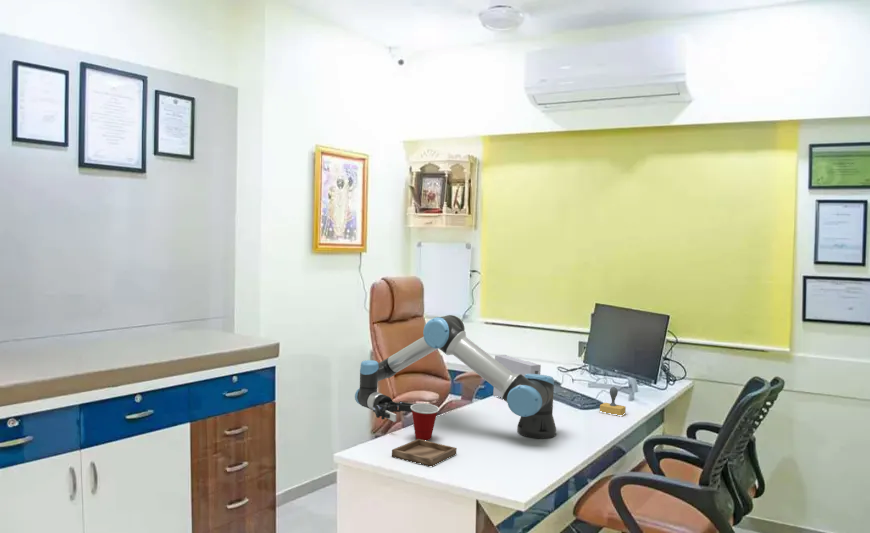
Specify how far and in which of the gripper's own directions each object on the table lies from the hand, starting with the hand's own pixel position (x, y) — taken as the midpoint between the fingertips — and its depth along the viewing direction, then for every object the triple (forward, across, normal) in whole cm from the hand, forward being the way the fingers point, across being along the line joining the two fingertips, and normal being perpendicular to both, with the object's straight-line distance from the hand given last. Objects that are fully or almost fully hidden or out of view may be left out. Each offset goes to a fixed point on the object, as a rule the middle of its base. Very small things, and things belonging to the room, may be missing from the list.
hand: (410, 415), depth 253 cm
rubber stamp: (+20, -96, -7) cm, 98 cm away
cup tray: (+25, +11, -6) cm, 28 cm away
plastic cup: (+9, 0, -7) cm, 11 cm away
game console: (-16, -71, -7) cm, 73 cm away
